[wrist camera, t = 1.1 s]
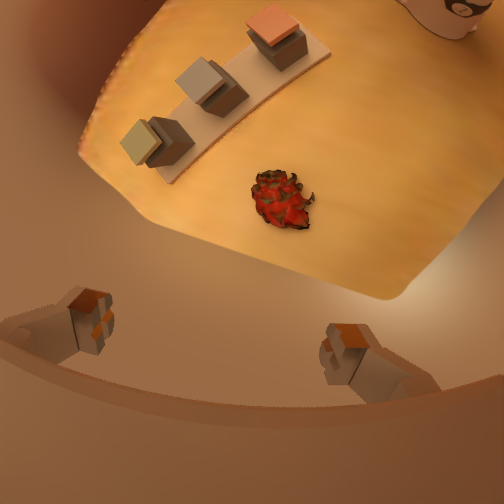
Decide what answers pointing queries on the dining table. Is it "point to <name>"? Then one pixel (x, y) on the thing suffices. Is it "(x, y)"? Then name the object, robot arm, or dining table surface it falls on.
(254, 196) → the dragon fruit
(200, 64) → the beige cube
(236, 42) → the dining table surface
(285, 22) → the terracotta button
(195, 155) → the button console
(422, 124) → the dining table surface
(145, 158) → the sage button
